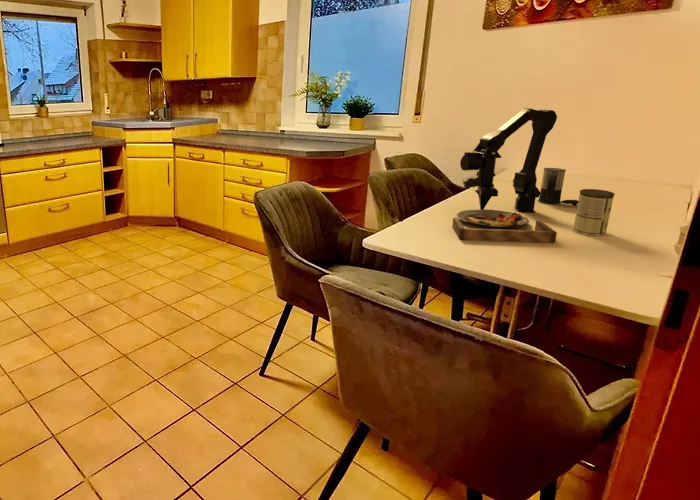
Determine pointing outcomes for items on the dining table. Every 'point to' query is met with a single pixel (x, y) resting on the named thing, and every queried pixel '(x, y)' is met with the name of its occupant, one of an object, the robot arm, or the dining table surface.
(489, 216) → the food plate
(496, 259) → the dining table surface
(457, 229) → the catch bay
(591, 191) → the coffee can
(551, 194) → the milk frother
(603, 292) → the dining table surface
